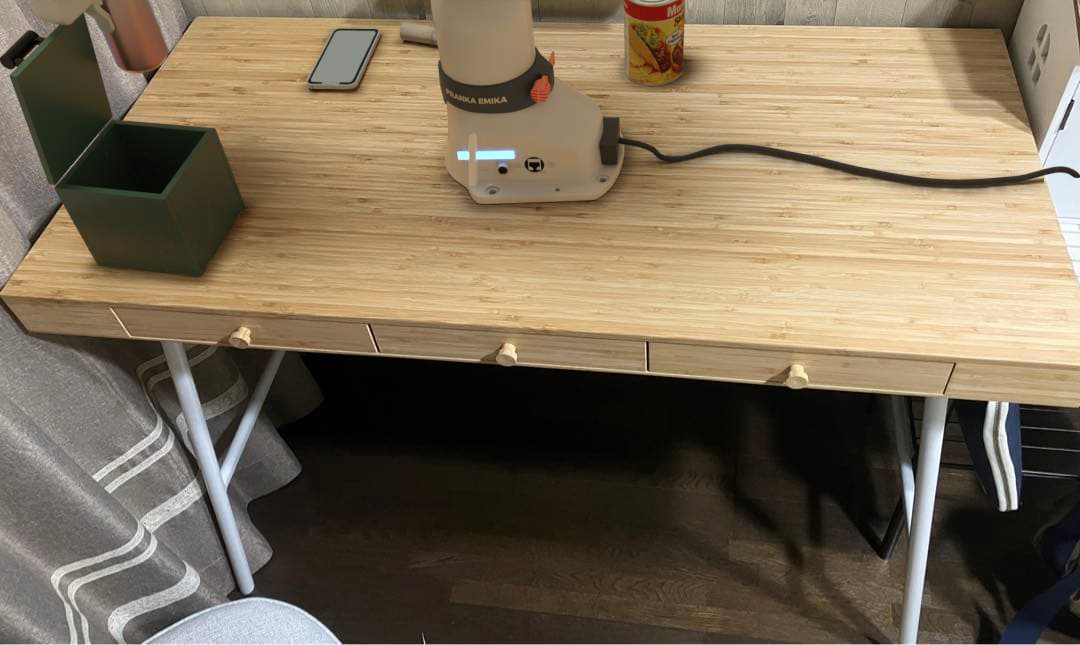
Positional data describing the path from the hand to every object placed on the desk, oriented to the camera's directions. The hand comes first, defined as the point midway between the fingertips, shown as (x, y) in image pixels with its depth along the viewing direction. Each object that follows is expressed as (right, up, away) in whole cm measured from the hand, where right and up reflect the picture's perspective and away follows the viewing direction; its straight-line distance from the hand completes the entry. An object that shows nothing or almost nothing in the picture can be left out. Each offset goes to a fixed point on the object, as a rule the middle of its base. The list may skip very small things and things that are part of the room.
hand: (125, 13), depth 113 cm
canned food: (+62, 0, +25) cm, 66 cm away
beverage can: (0, -4, +4) cm, 6 cm away
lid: (-5, -10, -4) cm, 12 cm away
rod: (+32, +6, +33) cm, 46 cm away
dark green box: (+2, -24, +9) cm, 26 cm away
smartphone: (+18, +3, +32) cm, 37 cm away
